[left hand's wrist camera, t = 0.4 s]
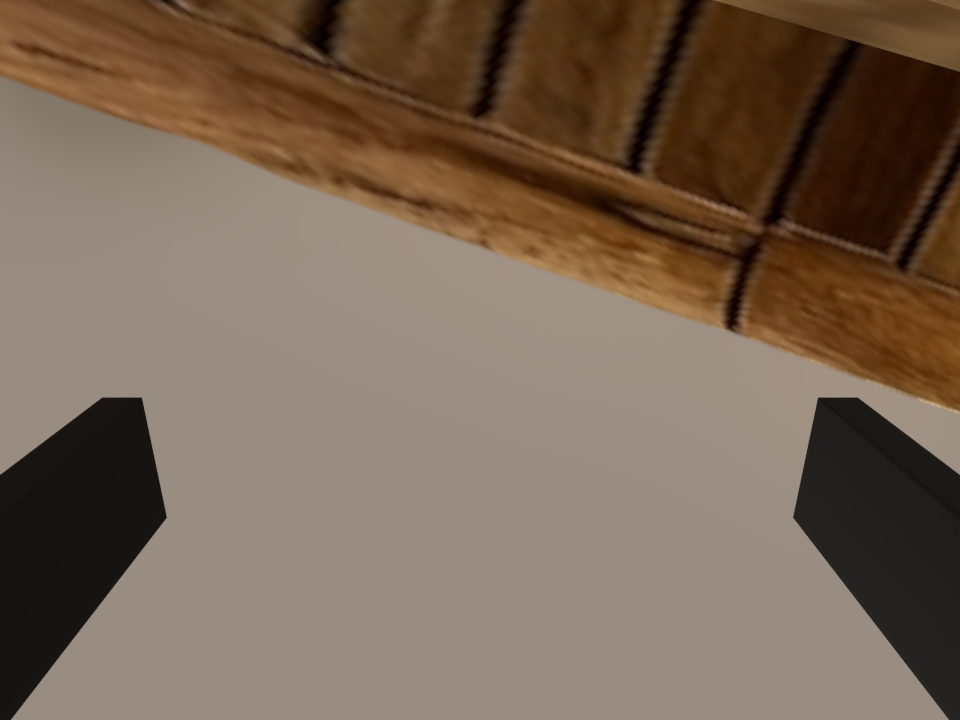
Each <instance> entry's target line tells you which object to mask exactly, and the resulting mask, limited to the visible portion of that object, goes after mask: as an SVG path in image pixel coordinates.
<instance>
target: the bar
mask: <svg viewBox="0 0 960 720" xmlns="http://www.w3.org/2000/svg"><path fill="white" fill-rule="evenodd" d="M715 1H718V2H722V3H725V4H729V5H732V6H736V7H739V8H743V9H746V10H749V11H753V12H756V13H760V14H763V15H767V16H770V17H774V18H777V19H780V20H784V21H787V22H791V23H794V24H798V25H801V26H804V27H808V28H811V29H815V30H818V31H822V32H825V33H829V34H832V35H835V36H839V37H842V38H846V39H849V40H853V41H856V42H860V43H863V44H866V45H870V46H873V47H877V48H880V49H884V50H887V51H891V52H894V53H897V54H901V55H904V56H908V57H911V58H915V59H918V60H922V61H925V62H928V63H932V64H935V65H939V66H942V67H946V68H949V69H953V70H956V71H959V72H960V0H715Z"/></svg>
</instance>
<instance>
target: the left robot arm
mask: <svg viewBox="0 0 960 720" xmlns="http://www.w3.org/2000/svg"><path fill="white" fill-rule="evenodd" d="M166 518H167V516H166V511H165V507H164V502H163V497H162V493H161V487H160V483H159V478H158V473H157V468H156V463H155V459H154V454H153V449H152V444H151V440H150V435H149V430H148V425H147V420H146V415H145V411H144V406H143V401H142V398H101V399H100V400H99V401H97V402H96V403H95V404H93V405H92V406H91V407H89V408H88V409H87V410H85V411H84V412H83V413H81V414H80V415H79V416H77V417H76V418H75V419H74V420H72V421H71V422H70V423H68V424H67V425H66V426H64V427H63V428H62V429H60V430H59V431H58V432H56V433H55V434H54V435H52V436H51V437H50V438H48V439H47V440H46V441H44V442H43V443H42V444H41V445H39V446H38V447H37V448H35V449H34V450H33V451H31V452H30V453H29V454H27V455H26V456H25V457H23V458H22V459H21V460H19V461H18V462H17V463H15V464H14V465H13V466H11V467H10V468H9V469H7V470H6V471H5V472H4V473H2V474H1V475H0V720H11V719H12V718H13V716H14V715H15V714H16V712H17V711H18V710H19V708H20V707H21V706H22V705H23V703H24V702H25V701H26V699H27V698H28V697H29V695H30V694H31V693H32V692H33V690H34V689H35V688H36V686H37V685H38V684H39V683H40V681H41V680H42V679H43V677H44V676H45V675H46V674H47V672H48V671H49V670H50V668H51V667H52V666H53V664H54V663H55V662H56V660H57V659H58V658H59V657H60V655H61V654H62V653H63V651H64V650H65V649H66V648H67V646H68V645H69V644H70V642H71V641H72V640H73V639H74V637H75V636H76V635H77V633H78V632H79V631H80V629H81V628H82V627H83V625H84V624H85V623H86V622H87V620H88V619H89V618H90V616H91V615H92V614H93V613H94V611H95V610H96V609H97V607H98V606H99V605H100V603H101V602H102V601H103V600H104V598H105V597H106V596H107V594H108V593H109V592H110V590H111V589H112V588H113V587H114V585H115V584H116V583H117V581H118V580H119V579H120V578H121V576H122V575H123V574H124V572H125V571H126V570H127V569H128V567H129V566H130V565H131V563H132V562H133V561H134V559H135V558H136V557H137V556H138V554H139V553H140V552H141V550H142V549H143V548H144V546H145V545H146V544H147V542H148V541H149V540H150V539H151V537H152V536H153V535H154V533H155V532H156V531H157V530H158V528H159V527H160V526H161V524H162V523H163V522H164V521H165V519H166ZM793 518H794V519H795V521H796V522H797V523H798V524H799V526H800V527H801V528H802V530H803V531H804V532H805V534H806V535H807V536H808V537H809V539H810V540H811V541H812V543H813V544H814V545H815V546H816V548H817V549H818V550H819V552H820V553H821V554H822V556H823V557H824V558H825V559H826V561H827V562H828V563H829V565H830V566H831V567H832V568H833V570H834V571H835V572H836V574H837V575H838V576H839V578H840V579H841V580H842V581H843V583H844V584H845V585H846V587H847V588H848V589H849V591H850V592H851V593H852V594H853V596H854V597H855V598H856V600H857V601H858V602H859V604H860V605H861V606H862V607H863V609H864V610H865V611H866V613H867V614H868V615H869V616H870V618H871V619H872V620H873V622H874V623H875V624H876V626H877V627H878V628H879V629H880V631H881V632H882V633H883V635H884V636H885V637H886V639H887V640H888V641H889V642H890V644H891V645H892V646H893V648H894V649H895V650H896V651H897V653H898V654H899V655H900V657H901V658H902V659H903V661H904V662H905V663H906V664H907V666H908V667H909V668H910V670H911V671H912V672H913V673H914V675H915V676H916V677H917V679H918V680H919V681H920V683H921V684H922V685H923V686H924V688H925V689H926V690H927V692H928V693H929V694H930V696H931V697H932V698H933V699H934V701H935V702H936V703H937V705H938V706H939V707H940V708H941V710H942V711H943V712H944V714H945V715H946V716H947V718H948V719H949V720H960V475H959V474H958V473H956V472H955V471H954V470H953V469H951V468H950V467H949V466H947V465H946V464H945V463H943V462H942V461H941V460H939V459H938V458H937V457H935V456H934V455H933V454H931V453H930V452H929V451H927V450H926V449H925V448H923V447H922V446H921V445H920V444H918V443H917V442H916V441H914V440H913V439H912V438H910V437H909V436H908V435H906V434H905V433H904V432H902V431H901V430H900V429H898V428H897V427H896V426H894V425H893V424H892V423H890V422H889V421H888V420H887V419H885V418H884V417H883V416H881V415H880V414H879V413H877V412H876V411H875V410H873V409H872V408H871V407H869V406H868V405H867V404H865V403H864V402H863V401H861V400H860V399H859V398H818V401H817V406H816V411H815V416H814V420H813V425H812V430H811V435H810V439H809V444H808V449H807V454H806V459H805V464H804V468H803V473H802V478H801V483H800V487H799V492H798V497H797V502H796V507H795V512H794V516H793Z"/></svg>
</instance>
